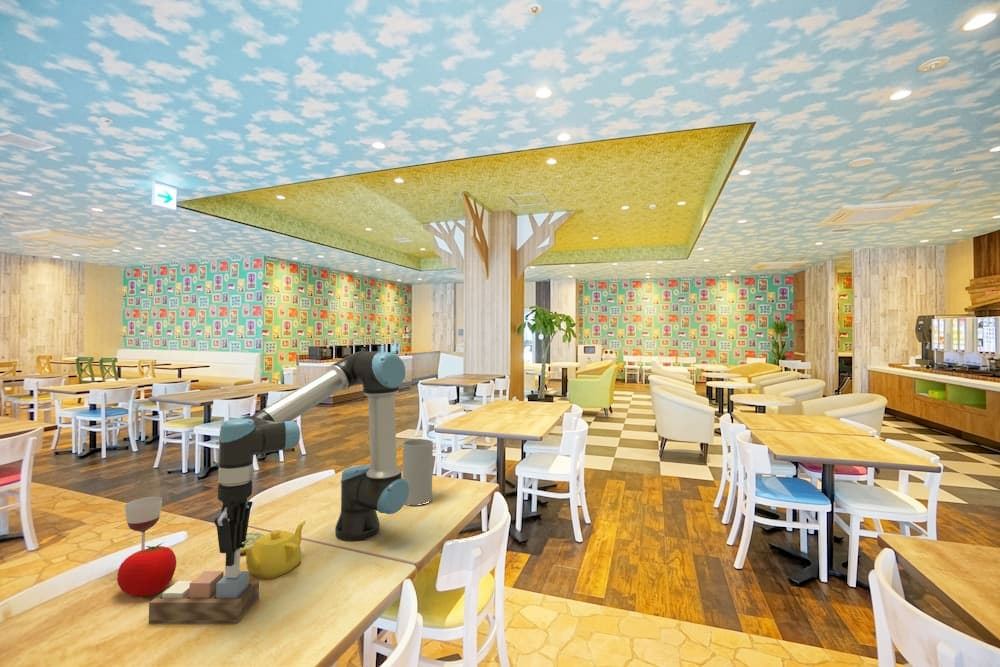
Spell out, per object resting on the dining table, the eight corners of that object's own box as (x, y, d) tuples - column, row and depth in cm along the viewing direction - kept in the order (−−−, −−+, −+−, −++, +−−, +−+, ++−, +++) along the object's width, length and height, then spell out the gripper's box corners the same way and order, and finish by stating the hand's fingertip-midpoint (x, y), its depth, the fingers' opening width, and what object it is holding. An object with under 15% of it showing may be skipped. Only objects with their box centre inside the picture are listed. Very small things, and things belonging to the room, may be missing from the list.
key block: (258, 599, 118) (259, 580, 118) (237, 623, 108) (237, 602, 108) (177, 599, 118) (178, 580, 118) (148, 623, 108) (149, 602, 108)
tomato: (130, 611, 112) (132, 564, 113) (109, 593, 120) (110, 550, 120) (186, 588, 123) (187, 546, 123) (163, 573, 130) (164, 534, 130)
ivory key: (197, 600, 116) (197, 580, 116) (181, 613, 110) (182, 593, 110) (178, 600, 116) (178, 580, 116) (161, 613, 110) (162, 593, 110)
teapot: (262, 594, 121) (263, 553, 121) (225, 580, 127) (225, 542, 127) (325, 558, 141) (326, 523, 141) (290, 548, 147) (291, 515, 147)
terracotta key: (223, 590, 116) (223, 571, 116) (209, 603, 110) (209, 583, 110) (204, 590, 116) (204, 571, 116) (189, 603, 110) (189, 583, 110)
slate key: (248, 590, 116) (249, 571, 116) (235, 603, 110) (236, 583, 110) (229, 590, 116) (230, 571, 116) (216, 603, 110) (216, 583, 110)
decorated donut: (238, 560, 139) (238, 548, 139) (222, 550, 145) (222, 538, 145) (271, 547, 148) (271, 536, 148) (255, 538, 154) (255, 527, 154)
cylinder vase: (429, 506, 185) (430, 446, 186) (398, 506, 185) (400, 445, 186) (434, 496, 198) (434, 439, 198) (405, 495, 198) (406, 438, 198)
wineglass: (167, 565, 135) (168, 498, 135) (135, 579, 127) (137, 508, 127) (148, 560, 138) (150, 495, 138) (116, 574, 129) (118, 504, 130)
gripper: (235, 474, 120) (232, 563, 119) (203, 489, 107) (200, 590, 106) (263, 474, 120) (260, 563, 119) (235, 490, 107) (232, 590, 106)
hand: (232, 576), depth 113 cm, fingers closed
